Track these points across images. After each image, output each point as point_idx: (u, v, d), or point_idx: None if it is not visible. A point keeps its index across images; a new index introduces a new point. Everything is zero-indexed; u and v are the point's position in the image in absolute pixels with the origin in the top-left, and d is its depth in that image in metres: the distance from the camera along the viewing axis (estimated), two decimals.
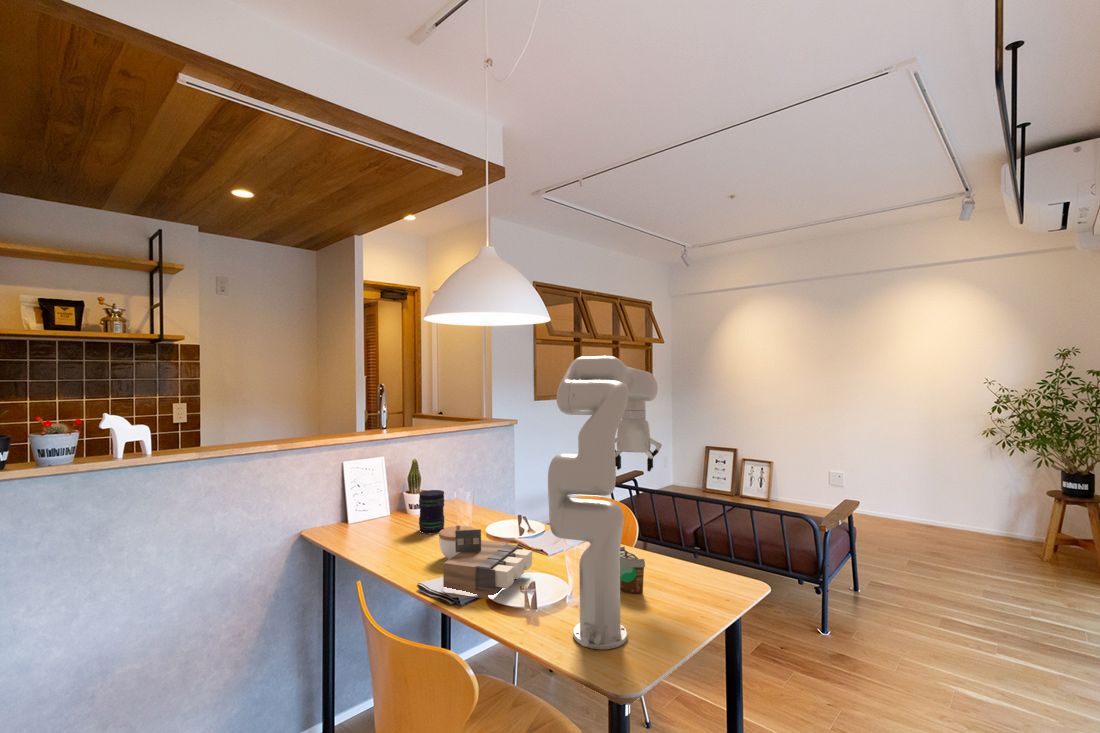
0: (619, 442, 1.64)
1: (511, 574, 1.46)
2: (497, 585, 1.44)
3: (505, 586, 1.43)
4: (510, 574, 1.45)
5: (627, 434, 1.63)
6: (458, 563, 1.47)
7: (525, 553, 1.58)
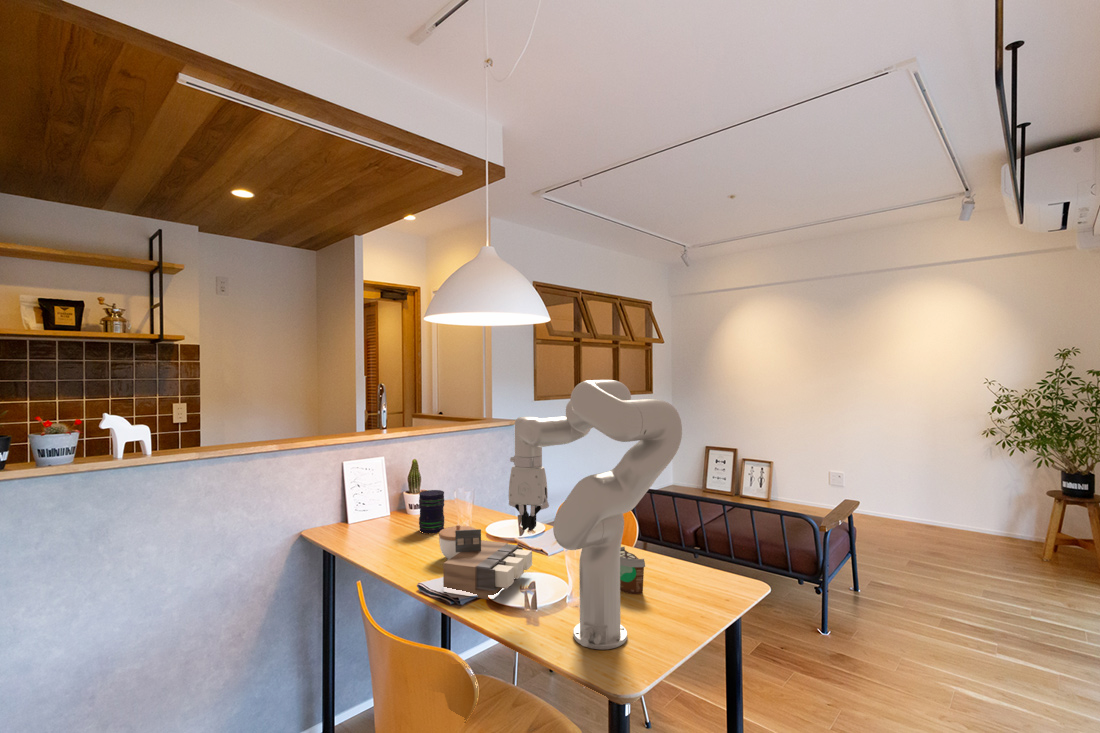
0: (511, 493, 1.43)
1: (511, 574, 1.46)
2: (497, 585, 1.44)
3: (505, 586, 1.43)
4: (510, 574, 1.45)
5: (519, 484, 1.42)
6: (458, 563, 1.47)
7: (525, 553, 1.58)
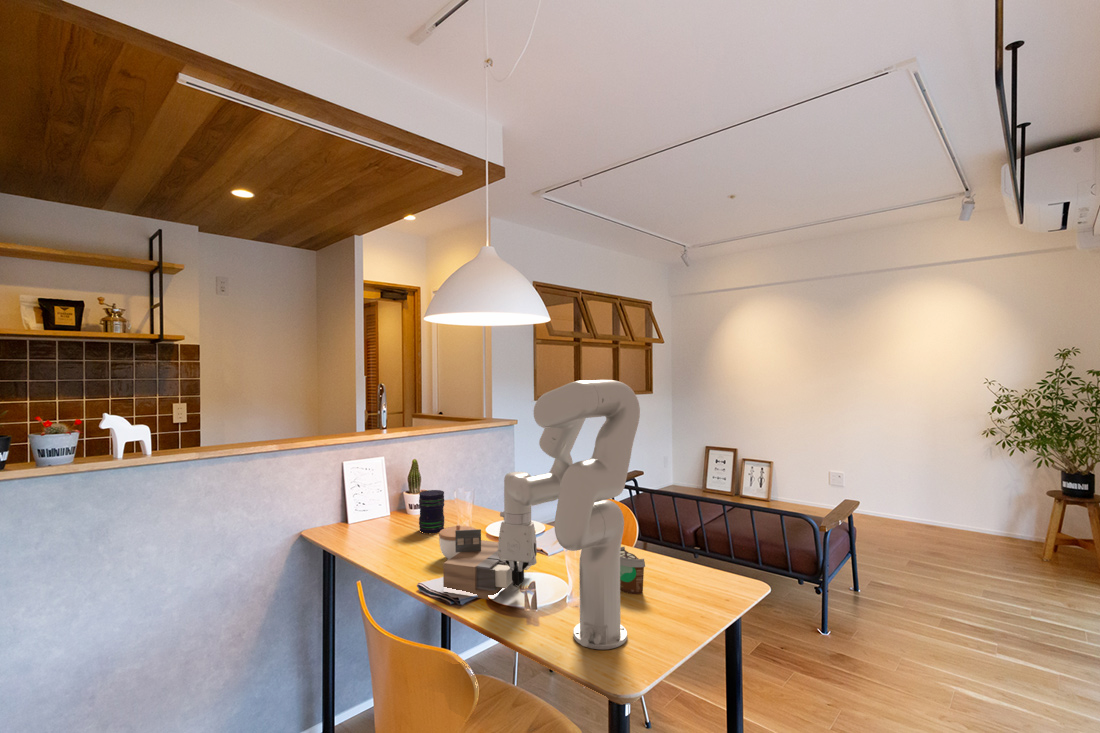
0: (500, 549, 1.44)
1: (510, 574, 1.46)
2: (496, 585, 1.44)
3: (504, 586, 1.44)
4: (509, 574, 1.45)
5: (508, 540, 1.43)
6: (458, 563, 1.47)
7: None
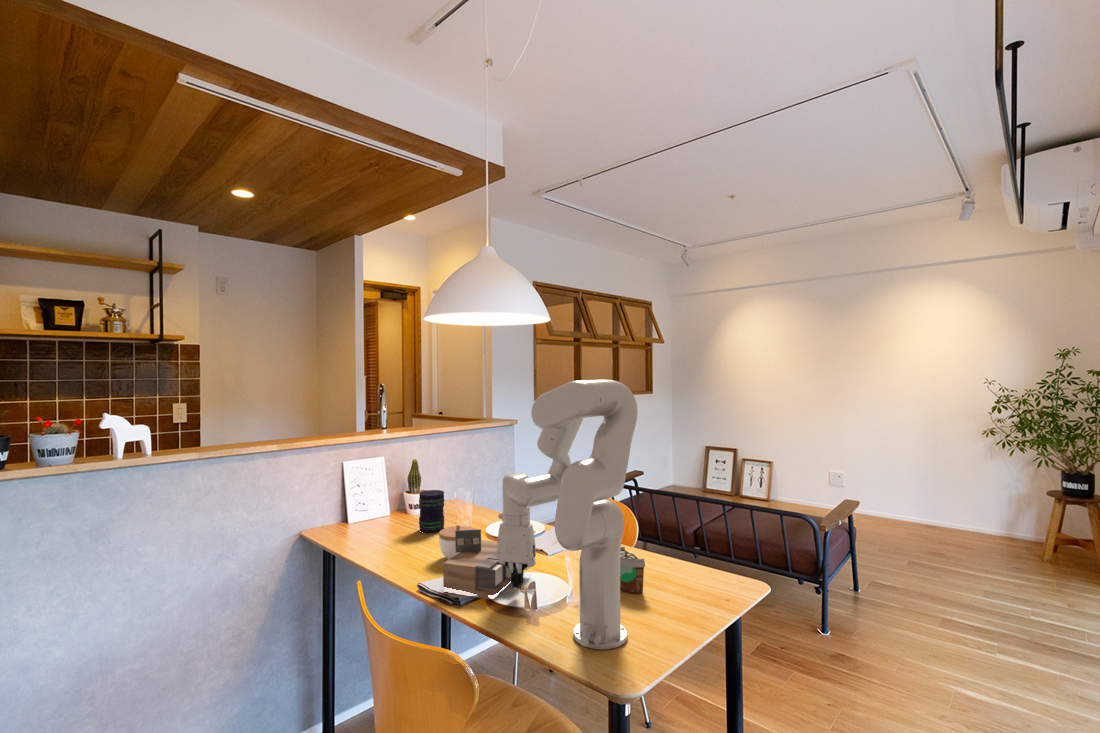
0: (499, 550, 1.44)
1: (499, 572, 1.47)
2: None
3: None
4: (498, 572, 1.46)
5: (507, 542, 1.43)
6: (458, 563, 1.47)
7: None
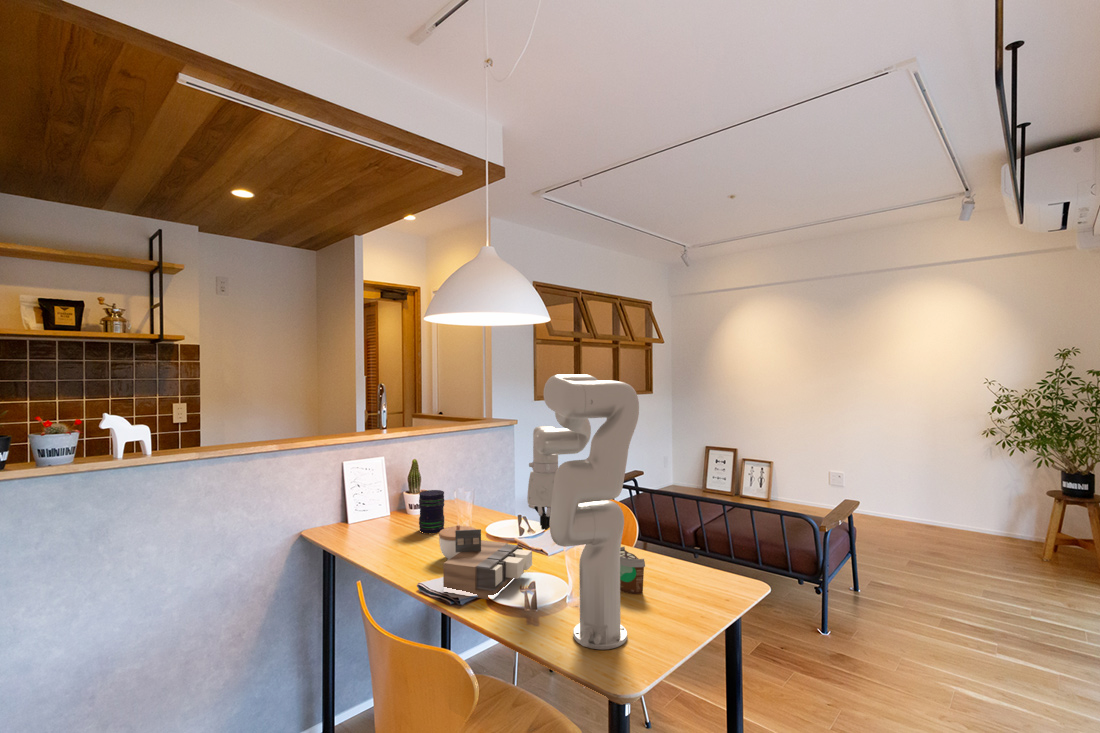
0: (529, 496, 1.56)
1: (499, 572, 1.47)
2: None
3: None
4: (498, 572, 1.46)
5: (537, 488, 1.55)
6: (458, 563, 1.47)
7: (525, 553, 1.58)
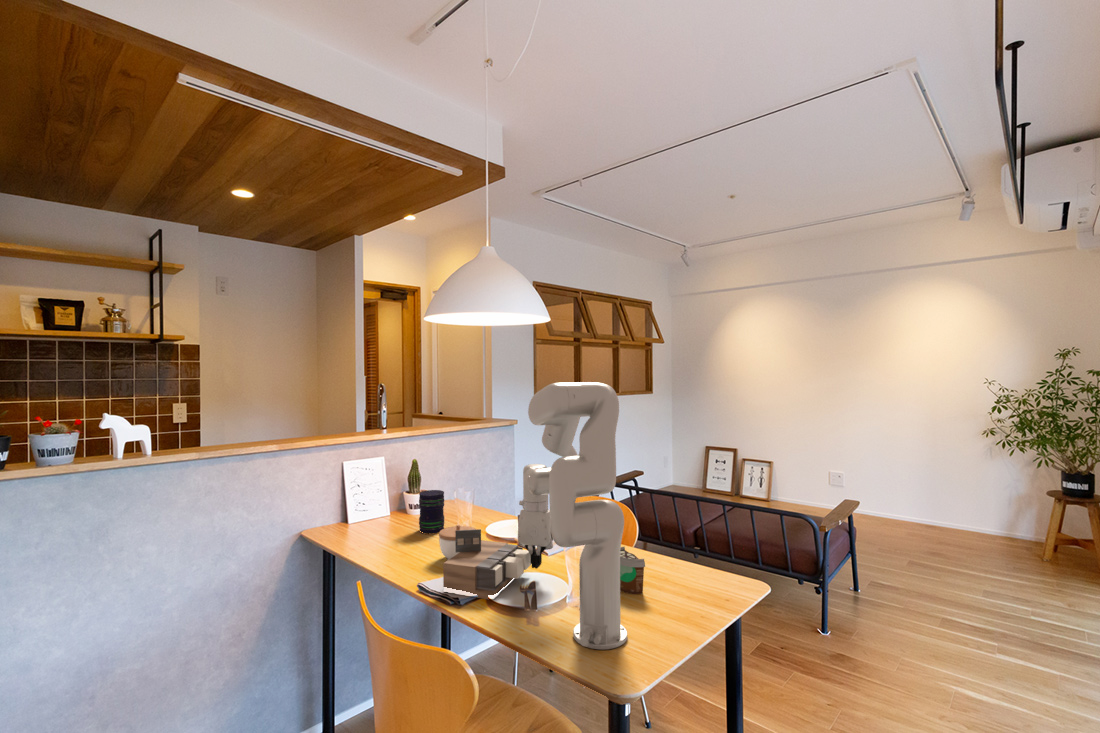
0: (520, 534, 1.57)
1: (499, 572, 1.47)
2: None
3: None
4: (498, 572, 1.46)
5: (527, 526, 1.56)
6: (458, 563, 1.47)
7: (524, 553, 1.58)
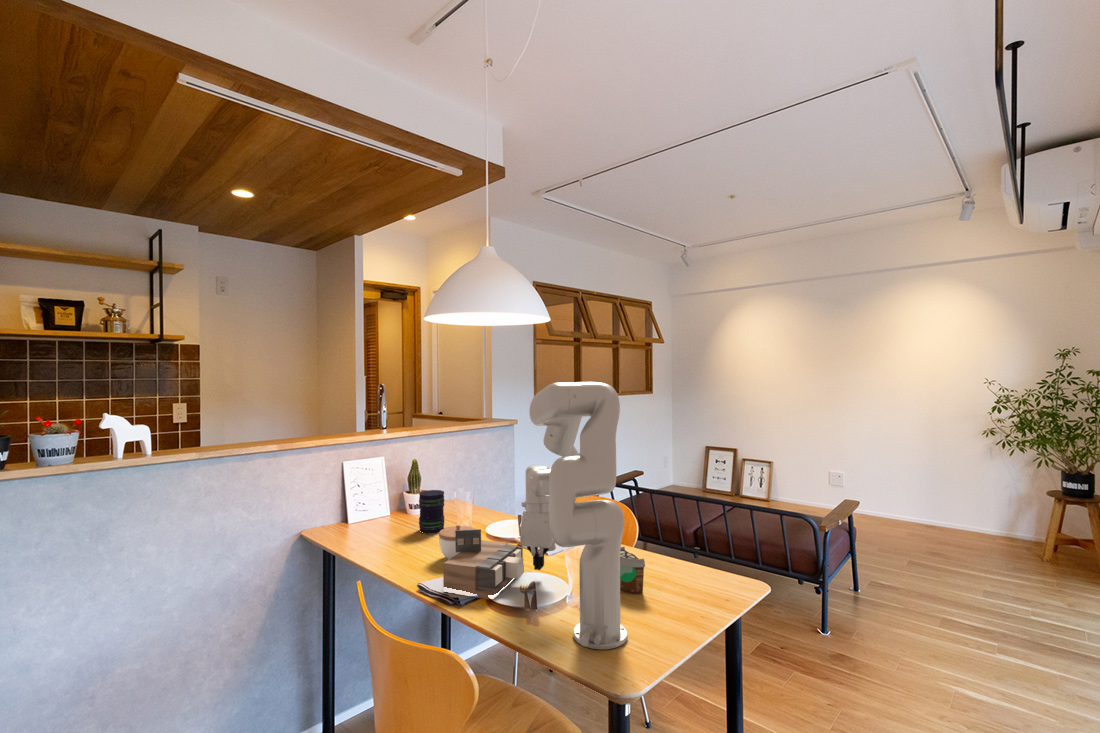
0: (522, 536, 1.56)
1: (499, 572, 1.47)
2: None
3: None
4: (498, 572, 1.46)
5: (530, 528, 1.56)
6: (458, 563, 1.47)
7: (514, 552, 1.59)
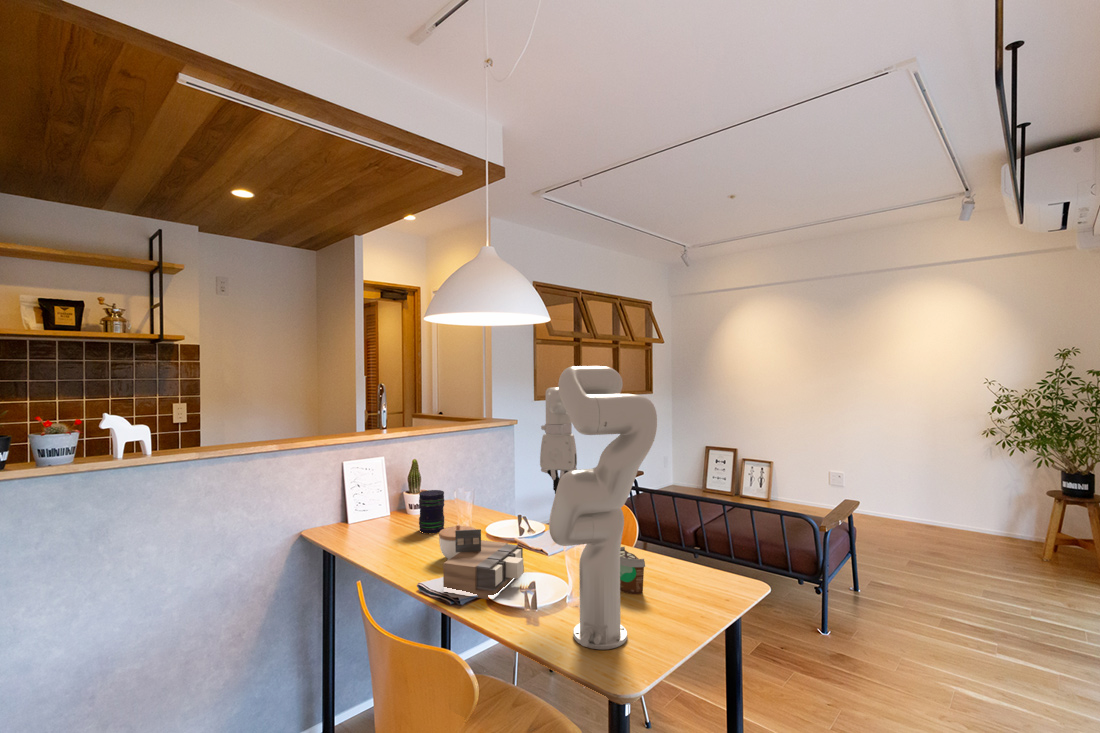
0: (542, 459, 1.51)
1: (499, 572, 1.47)
2: None
3: None
4: (498, 572, 1.46)
5: (550, 450, 1.50)
6: (458, 563, 1.47)
7: (514, 552, 1.59)
